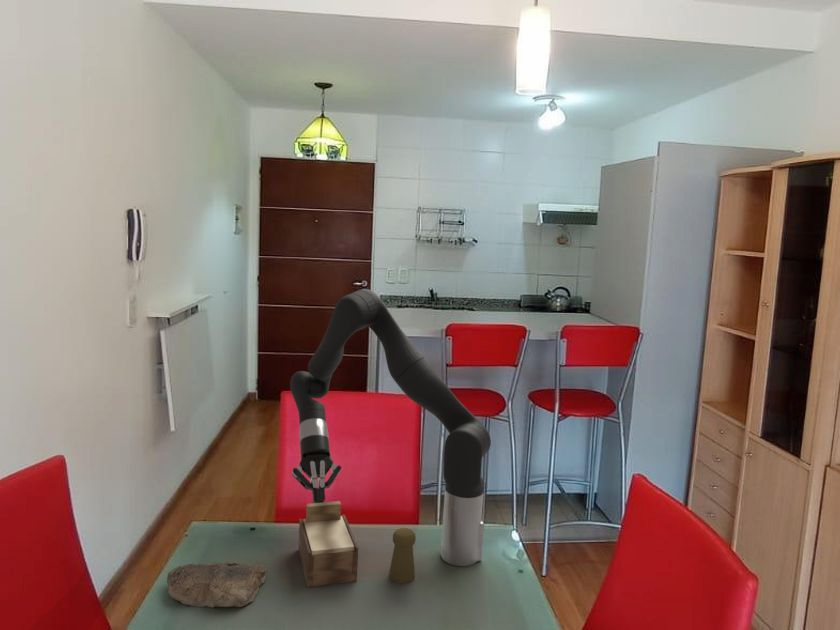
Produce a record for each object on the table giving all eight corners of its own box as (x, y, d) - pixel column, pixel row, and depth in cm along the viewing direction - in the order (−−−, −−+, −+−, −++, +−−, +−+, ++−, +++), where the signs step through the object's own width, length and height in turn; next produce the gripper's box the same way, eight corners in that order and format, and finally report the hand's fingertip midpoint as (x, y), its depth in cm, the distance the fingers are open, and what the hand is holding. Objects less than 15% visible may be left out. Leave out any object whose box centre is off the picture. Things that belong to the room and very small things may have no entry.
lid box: (343, 545, 159) (344, 514, 158) (356, 581, 144) (358, 547, 143) (298, 549, 155) (299, 518, 154) (307, 587, 140) (308, 553, 139)
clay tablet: (152, 606, 131) (248, 614, 130) (151, 584, 131) (248, 591, 129) (182, 570, 145) (269, 577, 144) (181, 550, 145) (269, 556, 143)
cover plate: (341, 519, 157) (342, 500, 156) (354, 550, 143) (355, 529, 142) (302, 523, 154) (303, 503, 153) (311, 555, 140) (312, 533, 139)
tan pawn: (383, 575, 147) (385, 530, 145) (401, 565, 151) (404, 521, 149) (402, 586, 143) (404, 540, 141) (420, 576, 147) (423, 531, 145)
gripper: (290, 434, 164) (294, 501, 154) (341, 432, 168) (348, 497, 158) (287, 447, 170) (291, 511, 160) (337, 444, 174) (343, 507, 164)
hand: (319, 504), depth 159 cm, fingers closed
